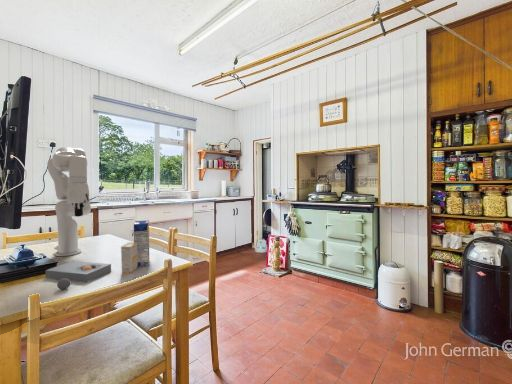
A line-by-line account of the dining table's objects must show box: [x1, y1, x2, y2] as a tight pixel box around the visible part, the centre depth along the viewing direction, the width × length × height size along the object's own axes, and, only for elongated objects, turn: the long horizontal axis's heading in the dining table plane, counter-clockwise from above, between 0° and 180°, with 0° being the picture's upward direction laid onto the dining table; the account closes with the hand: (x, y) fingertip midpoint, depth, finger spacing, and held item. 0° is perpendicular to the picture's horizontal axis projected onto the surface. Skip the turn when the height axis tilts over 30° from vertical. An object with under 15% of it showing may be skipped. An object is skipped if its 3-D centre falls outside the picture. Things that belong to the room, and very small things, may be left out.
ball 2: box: [82, 266, 92, 270], centre depth 122 cm, size 4×4×4 cm
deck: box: [45, 260, 112, 283], centre depth 123 cm, size 22×14×4 cm, turn 78°
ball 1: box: [56, 278, 72, 290], centre depth 107 cm, size 4×4×4 cm
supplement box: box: [120, 241, 139, 274], centre depth 129 cm, size 8×5×13 cm, turn 5°
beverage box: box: [133, 220, 150, 268], centre depth 139 cm, size 7×11×22 cm, turn 21°
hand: (78, 216), depth 135 cm, fingers closed
